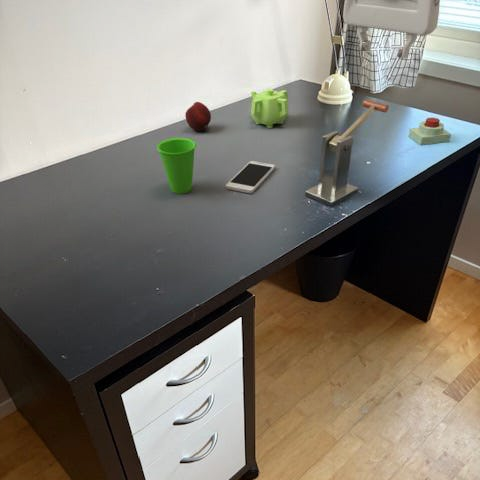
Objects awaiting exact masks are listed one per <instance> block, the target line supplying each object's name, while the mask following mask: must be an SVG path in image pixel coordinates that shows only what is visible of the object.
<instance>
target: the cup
mask: <svg viewBox="0 0 480 480" xmlns="http://www.w3.org/2000/svg"><path fill="white" fill-rule="evenodd" d="M196 147H197V143H196V142H195V141H194V140H193V139H191V138H186V137H173V138H166V139H164V140H162V141H161V142H159V143H158V144H157V146H156V149H157V151H158V152H159V154H160V158H161V161H162V165H163V168H164V172H165V175H166V178H167V181H168V184H169V188H170V191H172V193H174V194H176V195H177V194H178V195H180V194H181V195H182V194H188V193H189V192H190V191H191V190H192V188H193V179H194V178H193V176H194V163H195V162H194V161H195V149H196Z"/></svg>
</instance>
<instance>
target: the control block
mask: <svg viewBox="0 0 480 480" xmlns="http://www.w3.org/2000/svg"><path fill="white" fill-rule="evenodd" d="M425 123H426V120H423V121H421V122H419V125H418V127H413V128H411V127H410V128H409V132H408V135H407V136H408V137H409V138H410V139H411V140H413V141H414V142H415V143H417V144H418V145H419V146H425V145H431V144H441V143H448V142H450V140H451V136H452V133H451V132H449V131H447V130H446V129H445V125H444V123H443V122H439V126H438V127H435V128H432V127H427V126H425Z"/></svg>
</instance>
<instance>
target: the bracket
mask: <svg viewBox="0 0 480 480" xmlns="http://www.w3.org/2000/svg"><path fill="white" fill-rule="evenodd" d="M339 134H340V131H337V130H333V131H331V132H329V133H327V134H325V135H323V136H322V140H321V141H322V142H321V154H320V164H319V174H318V184H317V185H315V186H313V187H311V188H309V189H307V190H305V193H304V196H305V197H308V198H310V199H312V200H314V201H317V202H319V203H322V204H324V205H326V206H328V207H331V208H333V207H334V206H336V205H338V204H339V203H342V202H343V201H345V200H347V199H349V198H350V197H352V196H354V195H356V194H358V192H359V187H358V186H355V185H352V184H350V183H348V180H349V172H350V165H351V164H350V163H351V156H352V148H353V142H354V136H353V135H351V136H347V137H345V138H343V139H341V140H339V141H337V149H336V153H334V152H331V151H330V147H329V142H330V141H331V140H332V139H333V138H334V137H335V136H336V135H338V136H340V135H339Z"/></svg>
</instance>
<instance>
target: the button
mask: <svg viewBox="0 0 480 480" xmlns="http://www.w3.org/2000/svg"><path fill="white" fill-rule="evenodd" d="M425 121H426V123H425V126H427V127H432V128H435V127H438V126H439V122H440V121H441V120H440V118H437V117H427V118H426V119H425ZM440 123H441V122H440Z"/></svg>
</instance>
